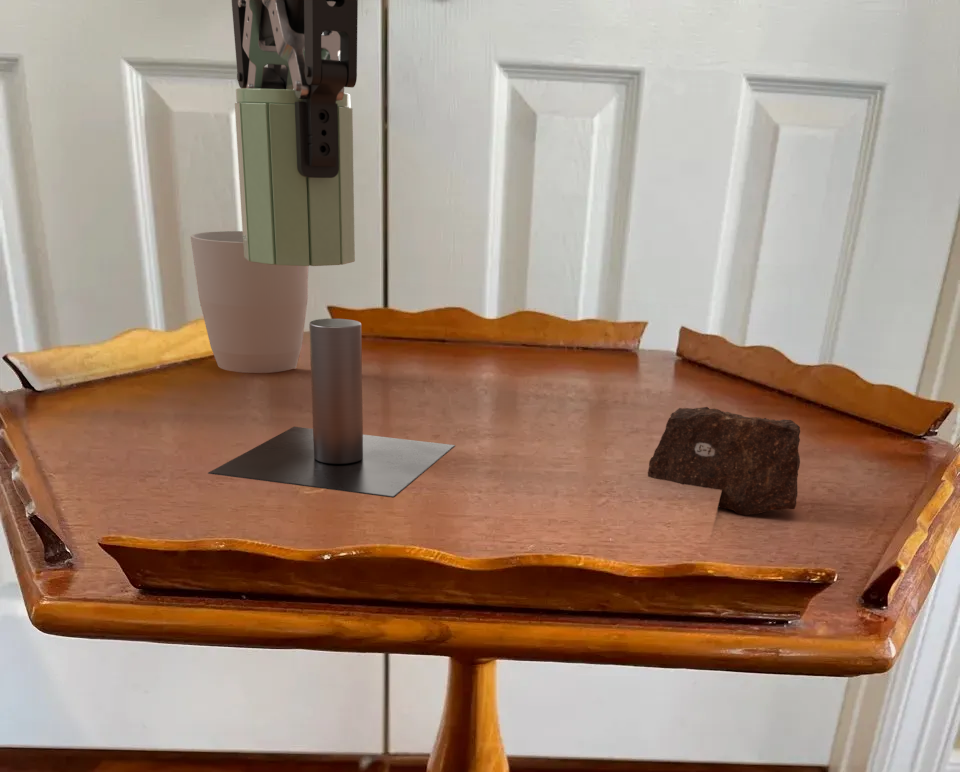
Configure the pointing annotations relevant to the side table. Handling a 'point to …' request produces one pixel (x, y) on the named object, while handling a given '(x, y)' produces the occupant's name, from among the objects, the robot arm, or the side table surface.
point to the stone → (731, 458)
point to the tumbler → (291, 186)
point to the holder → (337, 430)
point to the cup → (249, 305)
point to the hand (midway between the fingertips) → (296, 173)
